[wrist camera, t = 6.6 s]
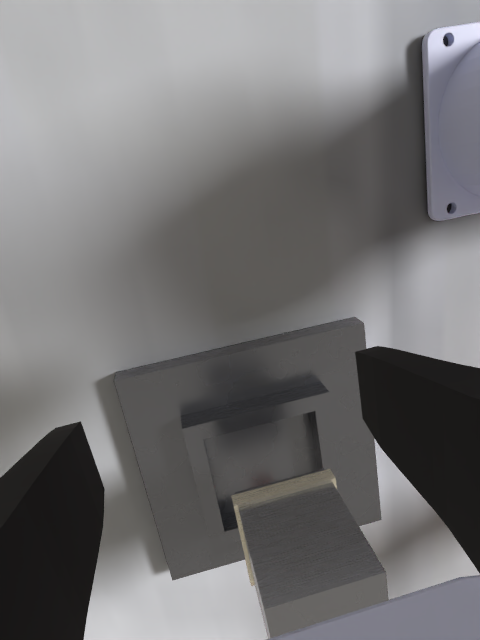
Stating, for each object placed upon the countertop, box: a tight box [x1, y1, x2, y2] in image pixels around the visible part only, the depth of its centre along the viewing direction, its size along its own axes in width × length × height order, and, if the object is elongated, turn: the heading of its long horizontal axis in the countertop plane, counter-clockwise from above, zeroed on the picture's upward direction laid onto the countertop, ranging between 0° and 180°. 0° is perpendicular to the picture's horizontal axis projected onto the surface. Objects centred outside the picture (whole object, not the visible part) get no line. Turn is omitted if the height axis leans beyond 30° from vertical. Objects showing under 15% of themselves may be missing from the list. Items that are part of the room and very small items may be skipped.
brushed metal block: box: [231, 468, 388, 639], centre depth 16 cm, size 4×4×5 cm
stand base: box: [114, 317, 381, 580], centre depth 22 cm, size 12×12×4 cm
